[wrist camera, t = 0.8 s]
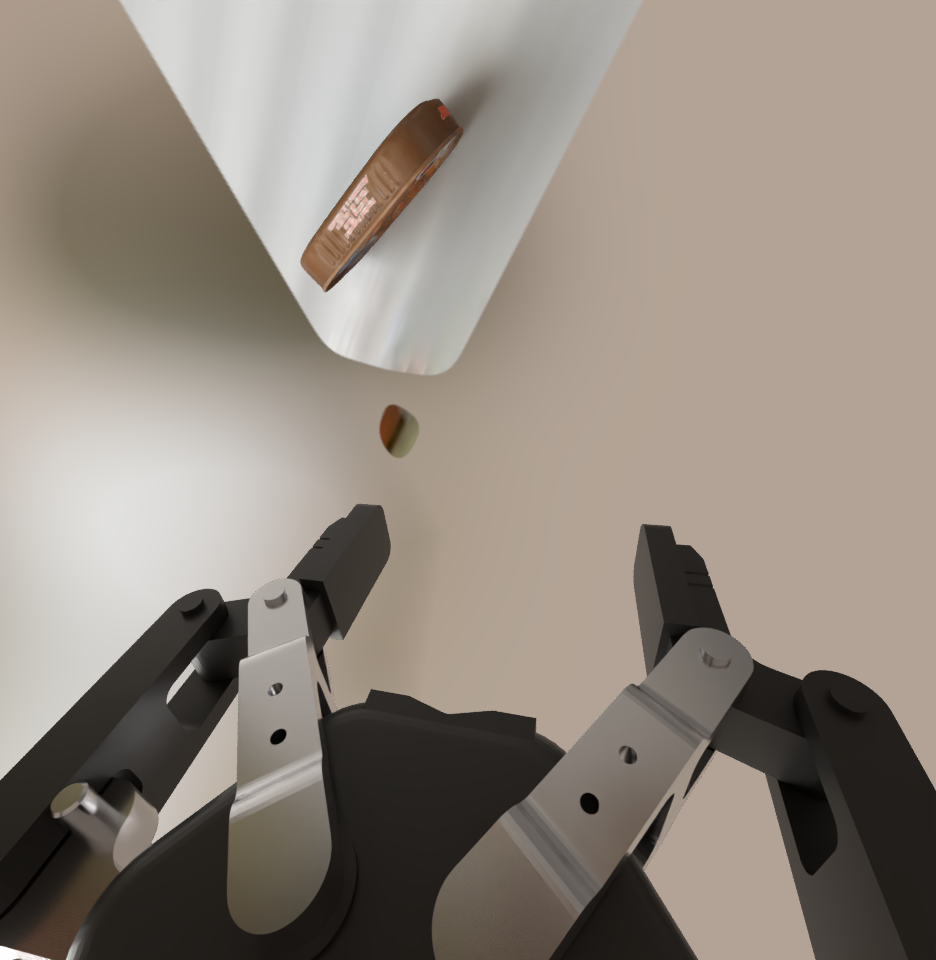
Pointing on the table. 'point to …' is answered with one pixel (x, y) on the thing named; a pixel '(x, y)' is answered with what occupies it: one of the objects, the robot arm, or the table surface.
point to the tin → (381, 191)
